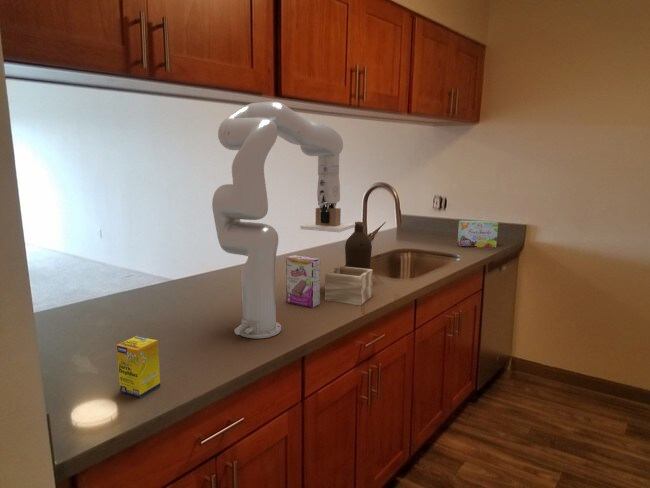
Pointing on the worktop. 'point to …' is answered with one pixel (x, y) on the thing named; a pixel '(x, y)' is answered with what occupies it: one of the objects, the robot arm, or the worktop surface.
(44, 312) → the worktop surface
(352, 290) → the box
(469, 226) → the snack box
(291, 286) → the candy bar box
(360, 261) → the olive oil
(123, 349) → the supplement box
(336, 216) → the lid
